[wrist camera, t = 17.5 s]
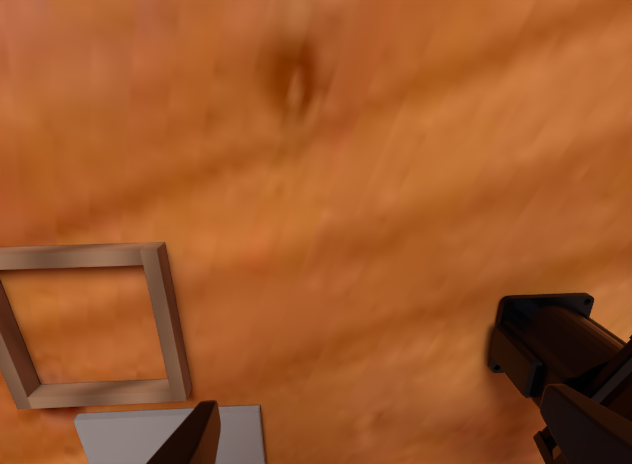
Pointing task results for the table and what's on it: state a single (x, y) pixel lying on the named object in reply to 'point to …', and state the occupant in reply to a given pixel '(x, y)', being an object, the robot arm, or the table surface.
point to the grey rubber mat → (166, 434)
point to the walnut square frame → (15, 364)
